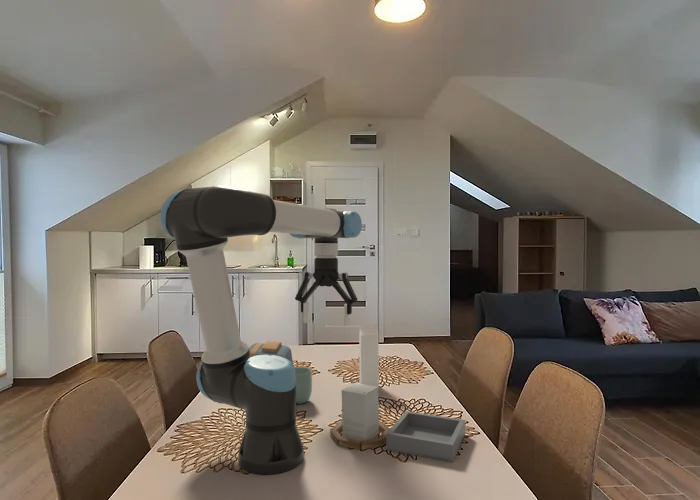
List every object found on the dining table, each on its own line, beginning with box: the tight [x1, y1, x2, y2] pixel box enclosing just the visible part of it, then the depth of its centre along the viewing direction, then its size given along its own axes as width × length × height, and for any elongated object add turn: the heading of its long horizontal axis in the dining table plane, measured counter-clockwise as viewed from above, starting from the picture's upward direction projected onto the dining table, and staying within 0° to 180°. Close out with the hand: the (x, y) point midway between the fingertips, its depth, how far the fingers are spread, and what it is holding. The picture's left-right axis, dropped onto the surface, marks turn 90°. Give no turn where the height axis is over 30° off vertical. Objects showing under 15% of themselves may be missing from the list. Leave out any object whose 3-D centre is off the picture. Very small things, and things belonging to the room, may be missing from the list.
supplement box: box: [341, 382, 380, 441], centre depth 122 cm, size 7×7×13 cm
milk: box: [358, 323, 380, 390], centre depth 161 cm, size 6×6×22 cm
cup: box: [294, 366, 313, 405], centre depth 148 cm, size 8×8×10 cm
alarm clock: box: [248, 340, 294, 365], centre depth 162 cm, size 16×16×16 cm
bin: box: [385, 410, 466, 463], centre depth 118 cm, size 16×16×4 cm
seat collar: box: [329, 420, 391, 450], centre depth 122 cm, size 15×15×2 cm
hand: (325, 323), depth 149 cm, fingers open, 13 cm apart
